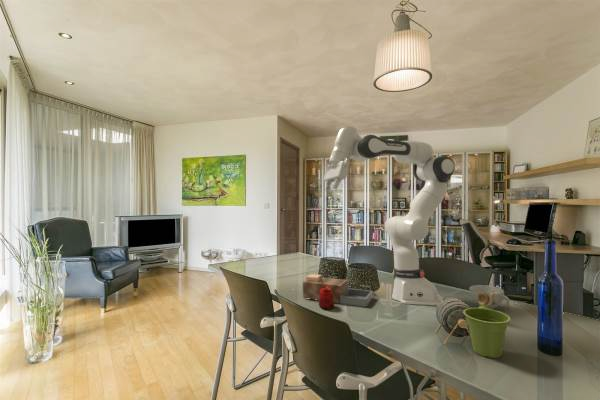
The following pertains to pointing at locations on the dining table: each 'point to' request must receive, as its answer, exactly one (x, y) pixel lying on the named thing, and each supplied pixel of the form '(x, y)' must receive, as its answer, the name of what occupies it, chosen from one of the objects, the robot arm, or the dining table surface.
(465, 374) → the dining table surface
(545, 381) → the dining table surface
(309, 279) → the tile
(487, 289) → the teacup
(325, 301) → the red clay folk toy
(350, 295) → the box
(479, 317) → the plant pot
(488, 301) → the snail figurine
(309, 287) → the brown rectangular box
